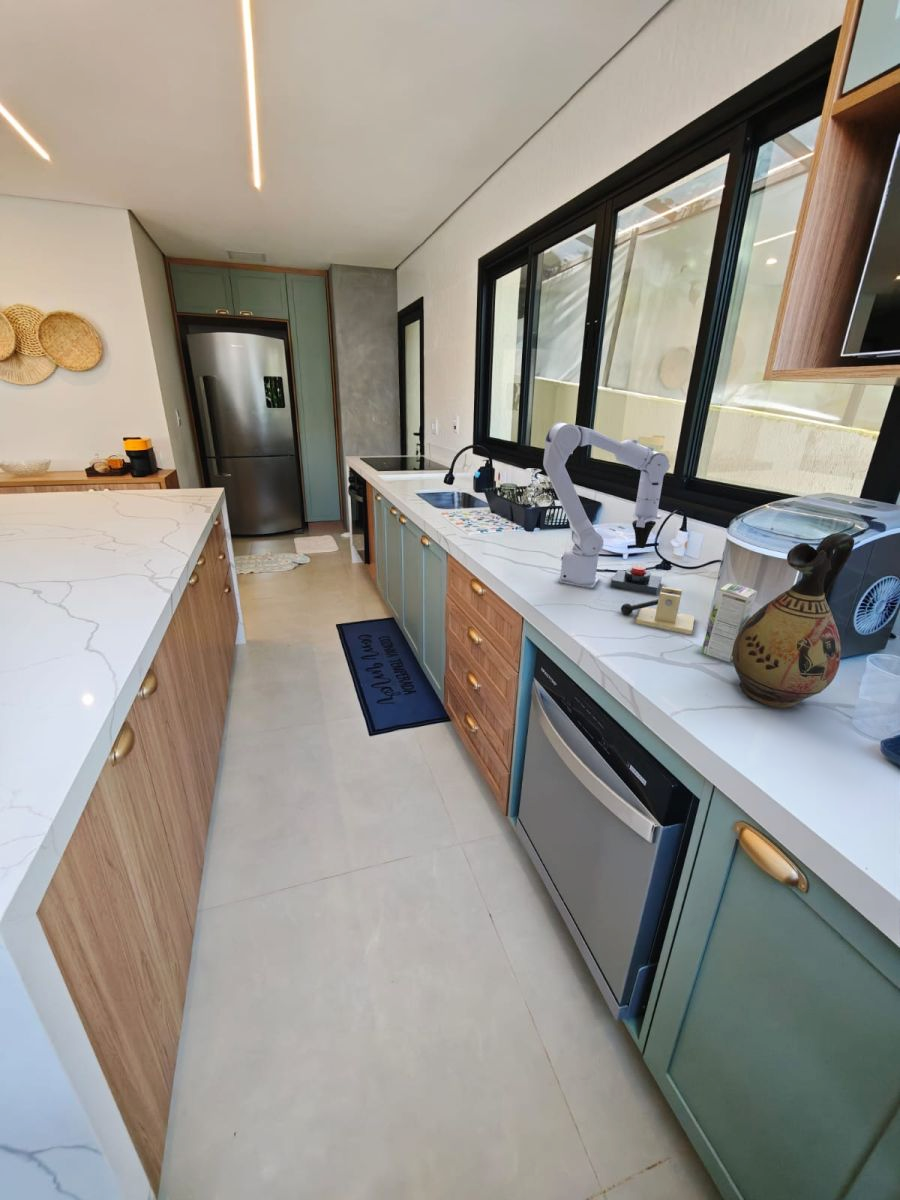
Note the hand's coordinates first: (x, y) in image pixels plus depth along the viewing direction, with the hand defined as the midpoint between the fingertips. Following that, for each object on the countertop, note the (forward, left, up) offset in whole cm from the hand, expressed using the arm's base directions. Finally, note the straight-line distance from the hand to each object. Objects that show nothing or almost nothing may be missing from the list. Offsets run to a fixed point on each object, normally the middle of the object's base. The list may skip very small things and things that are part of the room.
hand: (640, 547), depth 139 cm
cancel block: (+1, -3, -10) cm, 11 cm away
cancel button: (+1, -3, -7) cm, 7 cm away
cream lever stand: (+11, -25, -10) cm, 29 cm away
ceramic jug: (+32, -48, -11) cm, 58 cm away
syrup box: (+23, -36, -11) cm, 44 cm away
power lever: (+7, -25, -8) cm, 27 cm away
